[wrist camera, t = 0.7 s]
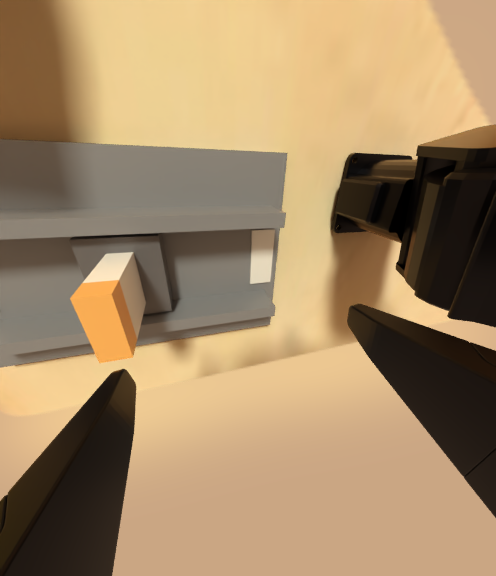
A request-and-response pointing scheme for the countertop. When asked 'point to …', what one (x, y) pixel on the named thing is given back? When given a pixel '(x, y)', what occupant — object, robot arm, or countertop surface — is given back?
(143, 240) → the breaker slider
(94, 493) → the robot arm
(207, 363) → the countertop surface
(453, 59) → the countertop surface
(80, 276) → the housing
